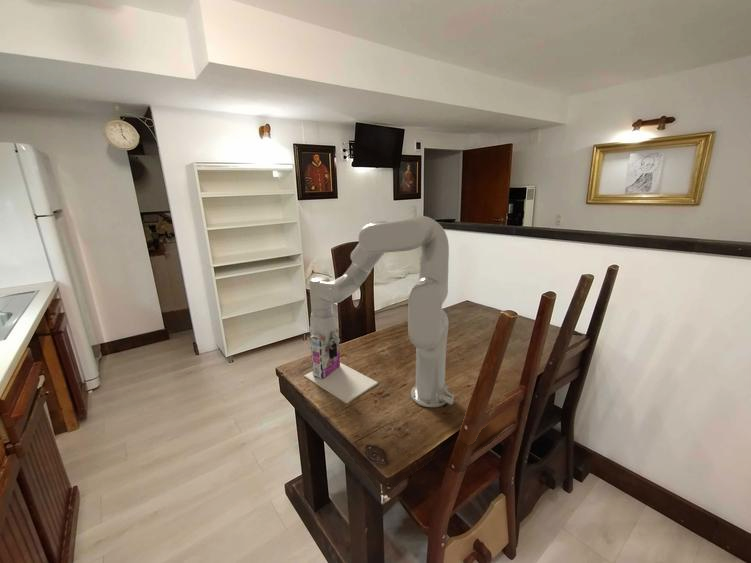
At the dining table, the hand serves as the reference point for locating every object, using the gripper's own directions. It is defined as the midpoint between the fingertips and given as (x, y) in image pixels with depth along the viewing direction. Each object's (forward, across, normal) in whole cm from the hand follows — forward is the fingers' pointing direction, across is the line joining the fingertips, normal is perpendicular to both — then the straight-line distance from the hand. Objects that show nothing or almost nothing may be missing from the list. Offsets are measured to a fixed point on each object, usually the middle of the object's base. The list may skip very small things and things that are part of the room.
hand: (325, 353), depth 123 cm
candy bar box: (+8, 0, 0) cm, 8 cm away
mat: (+8, +8, 0) cm, 12 cm away
